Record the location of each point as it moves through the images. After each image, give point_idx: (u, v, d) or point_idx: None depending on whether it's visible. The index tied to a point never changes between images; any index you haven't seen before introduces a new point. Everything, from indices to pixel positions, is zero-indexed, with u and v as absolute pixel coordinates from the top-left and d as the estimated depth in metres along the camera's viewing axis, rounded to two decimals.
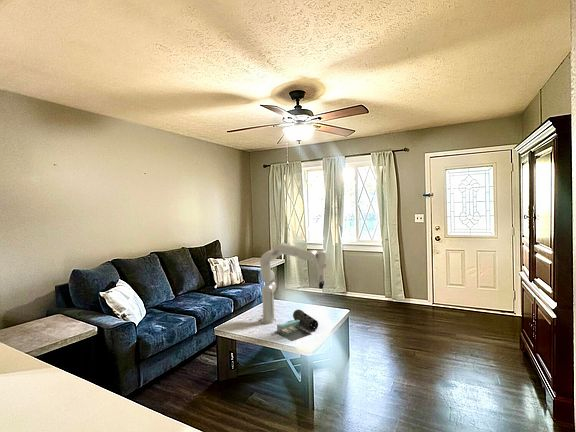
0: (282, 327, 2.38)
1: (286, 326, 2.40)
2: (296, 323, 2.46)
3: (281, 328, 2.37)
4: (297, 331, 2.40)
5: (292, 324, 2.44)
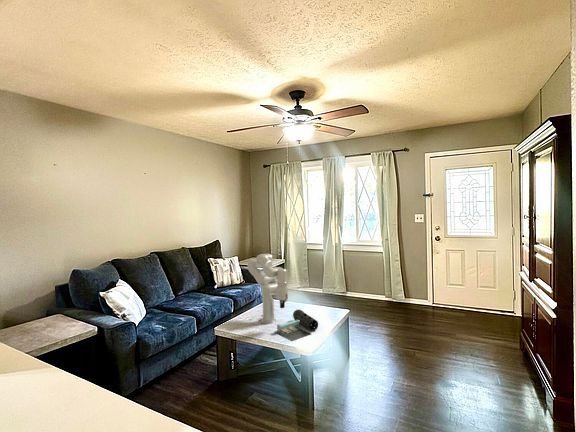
0: (282, 327, 2.38)
1: (286, 326, 2.40)
2: (296, 323, 2.46)
3: (281, 328, 2.37)
4: (297, 331, 2.40)
5: (292, 324, 2.44)
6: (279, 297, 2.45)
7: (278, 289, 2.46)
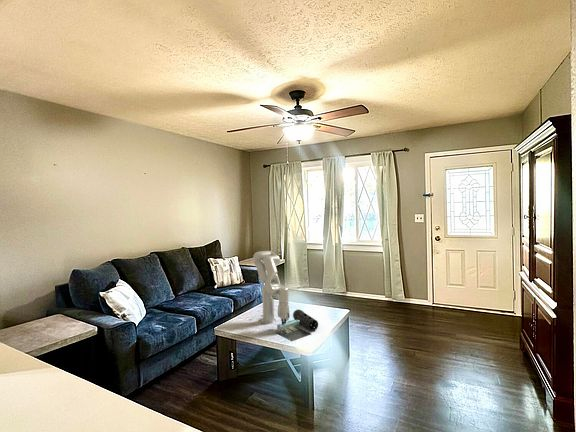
0: (282, 327, 2.38)
1: (286, 326, 2.40)
2: (296, 323, 2.46)
3: (281, 328, 2.37)
4: (297, 331, 2.40)
5: (292, 324, 2.44)
6: (281, 316, 2.44)
7: (280, 308, 2.45)
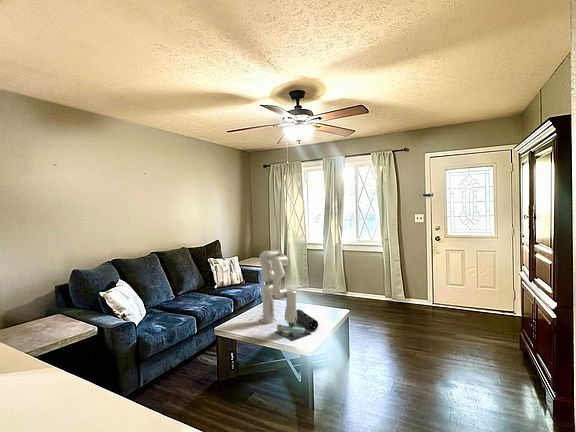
0: (280, 328, 2.36)
1: (285, 329, 2.35)
2: (298, 330, 2.31)
3: (279, 328, 2.36)
4: None
5: (293, 330, 2.33)
6: (288, 320, 2.37)
7: (287, 311, 2.38)
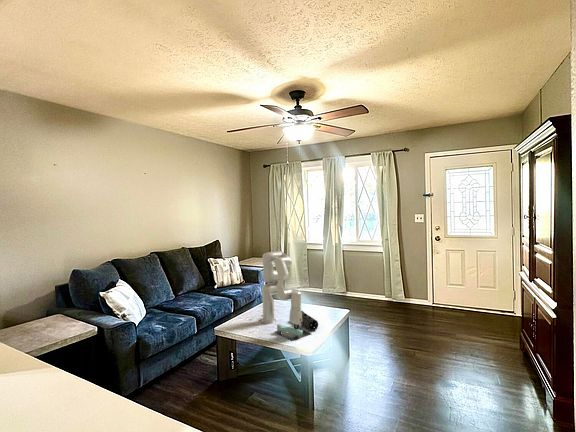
0: (279, 328, 2.36)
1: (284, 329, 2.34)
2: (296, 332, 2.28)
3: (278, 328, 2.36)
4: None
5: (291, 331, 2.31)
6: (293, 321, 2.32)
7: (292, 313, 2.33)
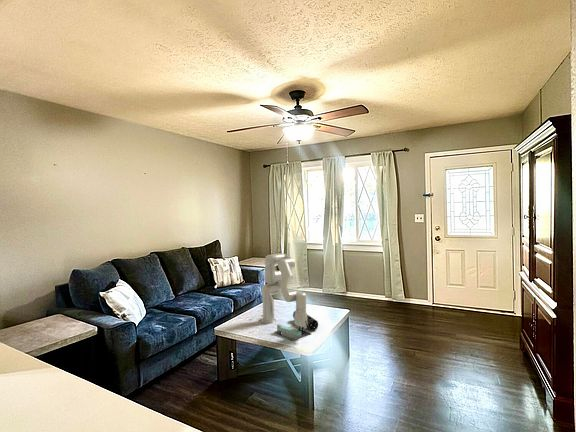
0: (279, 328, 2.36)
1: (283, 329, 2.33)
2: (294, 333, 2.27)
3: (278, 328, 2.36)
4: None
5: (290, 331, 2.30)
6: (298, 323, 2.28)
7: (297, 315, 2.29)
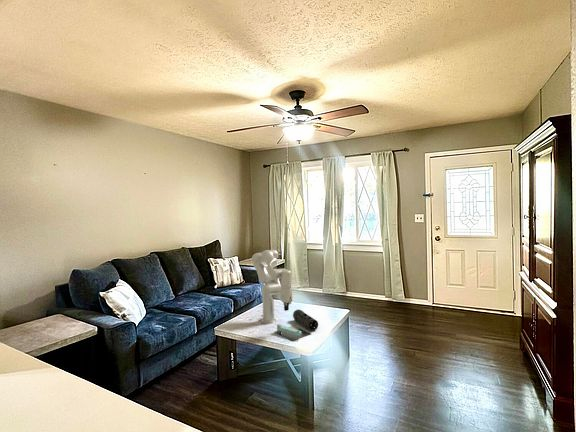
0: (279, 328, 2.36)
1: (283, 329, 2.33)
2: (294, 333, 2.27)
3: (278, 328, 2.36)
4: None
5: (290, 331, 2.30)
6: (283, 299, 2.39)
7: (282, 291, 2.40)
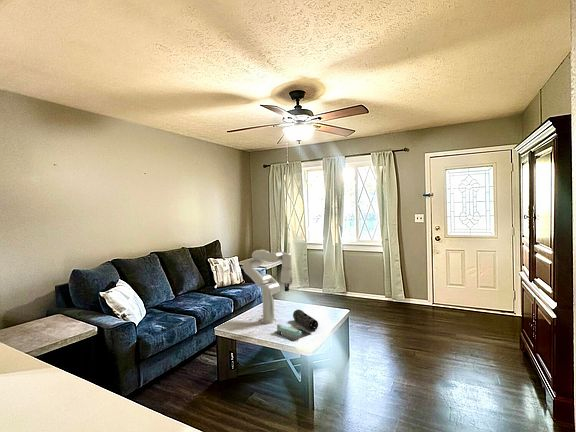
0: (279, 328, 2.36)
1: (283, 329, 2.33)
2: (294, 333, 2.27)
3: (278, 328, 2.36)
4: None
5: (290, 331, 2.30)
6: (284, 280, 2.49)
7: (283, 273, 2.50)
